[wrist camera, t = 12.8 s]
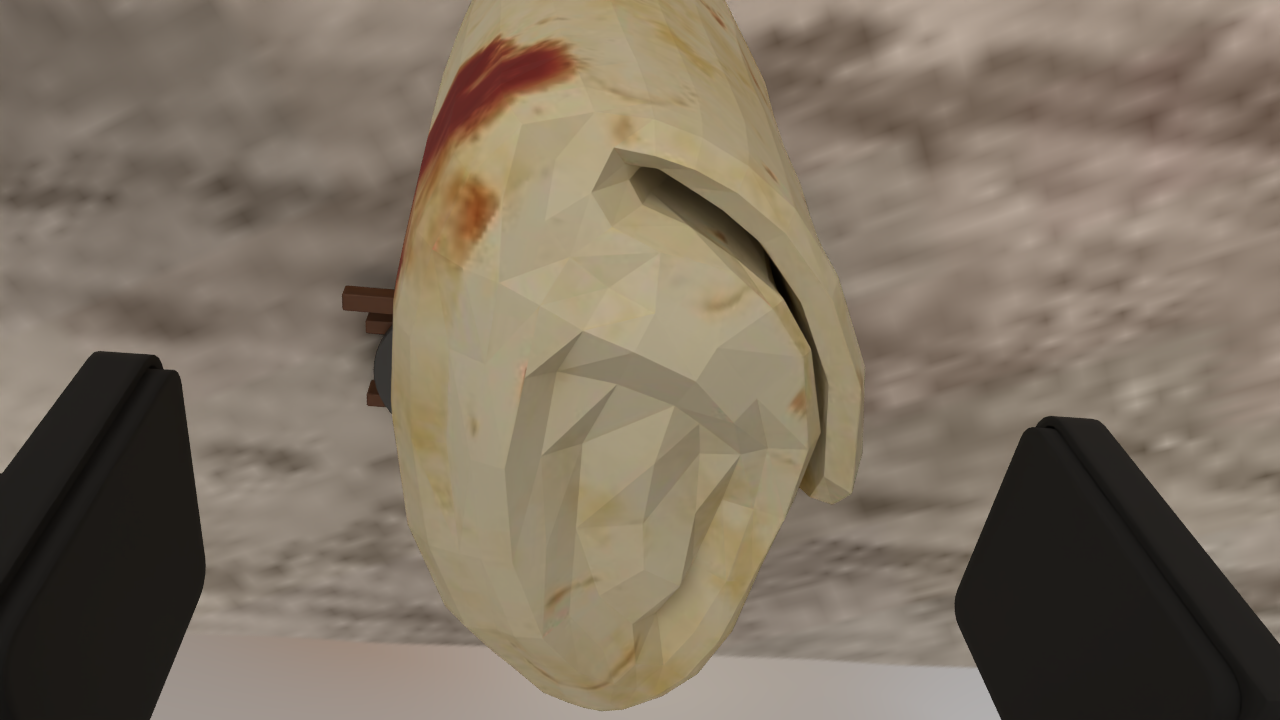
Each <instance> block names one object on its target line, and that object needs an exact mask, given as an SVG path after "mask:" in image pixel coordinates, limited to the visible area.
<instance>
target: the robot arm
mask: <svg viewBox="0 0 1280 720" xmlns="http://www.w3.org/2000/svg"><path fill="white" fill-rule="evenodd" d="M205 568H206V564H205V553H204V546H203V539H202V531H201V524H200V516H199V509H198V502H197V494H196V487H195V479H194V472H193V465H192V457H191V450H190V442H189V435H188V428H187V420H186V413H185V405H184V398H183V391H182V384H181V379H180V376H179V374H178V372H177V371H175V370H164V369H163V366H162V363H161V361H160V359H159V358H158V357H157V356H155V355H149V354H134V353H119V352H105V351H98V352H94V353H93V354H92V355H91V356H90V357H89V358H88V359H87V360H86V362H85V363H84V364H83V366H82V367H81V369H80V370H79V371H78V373H77V374H76V375H75V377H74V378H73V379H72V381H71V382H70V383H69V385H68V386H67V387H66V389H65V390H64V391H63V393H62V394H61V395H60V397H59V398H58V399H57V401H56V402H55V403H54V405H53V406H52V407H51V409H50V410H49V411H48V413H47V414H46V415H45V417H44V418H43V420H42V421H41V422H40V424H39V425H38V426H37V428H36V429H35V430H34V432H33V433H32V434H31V436H30V437H29V438H28V440H27V441H26V442H25V444H24V445H23V446H22V448H21V449H20V450H19V452H18V453H17V454H16V456H15V457H14V458H13V460H12V461H11V462H10V464H9V465H8V467H7V468H6V469H5V471H4V472H3V473H2V474H1V473H0V720H150V718H151V716H152V713H153V711H154V708H155V706H156V703H157V701H158V698H159V696H160V693H161V691H162V689H163V686H164V684H165V681H166V679H167V676H168V674H169V672H170V669H171V667H172V664H173V662H174V659H175V657H176V654H177V652H178V650H179V647H180V645H181V642H182V640H183V637H184V635H185V632H186V630H187V628H188V625H189V623H190V620H191V618H192V615H193V613H194V610H195V608H196V605H197V603H198V601H199V598H200V595H201V592H202V589H203V585H204V579H205ZM955 615H956V620H957V623H958V626H959V628H960V630H961V632H962V634H963V637H964V639H965V641H966V643H967V645H968V648H969V650H970V652H971V654H972V656H973V659H974V661H975V663H976V665H977V667H978V670H979V672H980V674H981V676H982V678H983V680H984V683H985V685H986V687H987V689H988V691H989V693H990V696H991V698H992V700H993V702H994V705H995V707H996V709H997V711H998V713H999V715H1000V717H1001V720H1280V644H1279V643H1278V641H1277V640H1276V639H1275V638H1274V636H1273V635H1272V634H1271V633H1270V631H1269V630H1268V629H1267V628H1266V626H1265V625H1264V624H1263V623H1262V621H1261V620H1260V619H1259V618H1258V616H1257V615H1256V614H1255V613H1254V611H1253V610H1252V609H1251V608H1250V606H1249V605H1248V604H1247V603H1246V601H1245V600H1244V599H1243V598H1242V597H1241V595H1240V594H1239V593H1238V592H1237V590H1236V589H1235V588H1234V587H1233V585H1232V584H1231V583H1230V582H1229V580H1228V579H1227V578H1226V577H1225V575H1224V574H1223V573H1222V572H1221V570H1220V569H1219V568H1218V567H1217V565H1216V564H1215V563H1214V562H1213V560H1212V559H1211V558H1210V557H1209V555H1208V554H1207V553H1206V552H1205V550H1204V549H1203V548H1202V547H1201V545H1200V544H1199V543H1198V542H1197V540H1196V539H1195V538H1194V537H1193V535H1192V534H1191V533H1190V532H1189V530H1188V529H1187V528H1186V527H1185V525H1184V524H1183V523H1182V522H1181V520H1180V519H1179V518H1178V517H1177V515H1176V514H1175V513H1174V512H1173V510H1172V509H1171V508H1170V507H1169V505H1168V504H1167V503H1166V502H1165V500H1164V499H1163V498H1162V497H1161V495H1160V494H1159V493H1158V492H1157V490H1156V489H1155V488H1154V487H1153V485H1152V484H1151V483H1150V482H1149V480H1148V479H1147V478H1146V477H1145V475H1144V474H1143V473H1142V472H1141V470H1140V469H1139V468H1138V467H1137V465H1136V464H1135V463H1134V462H1133V460H1132V459H1131V458H1130V457H1129V455H1128V454H1127V453H1126V452H1125V450H1124V449H1123V448H1122V447H1121V445H1120V444H1119V443H1118V442H1117V440H1116V439H1115V438H1114V437H1113V435H1112V434H1111V433H1110V432H1109V430H1108V429H1107V428H1106V427H1105V426H1104V425H1103V424H1102V423H1101V422H1100V421H1098V420H1094V419H1086V418H1071V417H1057V416H1048V417H1045V418H1043V419H1042V420H1041V421H1040V422H1039V423H1038V424H1037V426H1036V427H1032V428H1028V429H1027V430H1026V431H1025V432H1024V433H1023V435H1022V437H1021V438H1020V441H1019V443H1018V446H1017V448H1016V450H1015V453H1014V455H1013V458H1012V460H1011V462H1010V465H1009V467H1008V470H1007V472H1006V474H1005V477H1004V479H1003V482H1002V484H1001V486H1000V489H999V491H998V494H997V496H996V498H995V501H994V503H993V506H992V508H991V510H990V513H989V515H988V518H987V520H986V522H985V525H984V527H983V530H982V532H981V534H980V537H979V539H978V542H977V544H976V546H975V549H974V551H973V554H972V556H971V558H970V561H969V563H968V566H967V568H966V570H965V573H964V575H963V578H962V580H961V582H960V585H959V587H958V590H957V593H956V596H955Z"/></svg>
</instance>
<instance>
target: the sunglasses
mask: <svg viewBox="0 0 1280 720" xmlns="http://www.w3.org/2000/svg"><path fill="white" fill-rule="evenodd" d="M394 292H395V290H393V289H381V288H370V287H358V286H345V289H344V291H343V294H342V308H343V310H347V311H359V312H369V313H368V316H367V318H366V333H371V334H383V335H384V337H383V338H382V340H381V342H380V344H379V347H378V350H377V353H376V357H375V361H374V380H371V383H370V386H369V389H368V392H367V405H368V406H377V407H386V408H387V409H388V410H389V411H390V413H391V414H392V407H391V377H392V338H393V299H394Z"/></svg>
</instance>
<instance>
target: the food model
mask: <svg viewBox="0 0 1280 720" xmlns="http://www.w3.org/2000/svg"><path fill="white" fill-rule="evenodd" d="M864 387H865V366H864V362H863V359H862V356H861V352H860V349H859V345H858V342H857V339H856V335H855V332H854V328H853V325H852V322H851V318H850V315H849V312H848V308H847V305H846V301H845V298H844V295H843V291H842V288H841V284H840V281H839V278H838V276H837V274H836V272H835V270H834V268H833V267H832V265H831V263H830V261H829V259H828V257H827V256H826V254H825V252H824V250H823V248H822V246H821V244H820V242H819V240H818V238H817V235H816V232H815V229H814V226H813V223H812V220H811V218H810V214H809V211H808V208H807V205H806V201H805V198H804V195H803V192H802V188H801V185H800V182H799V180H798V178H797V175H796V173H795V171H794V168H793V166H792V164H791V162H790V159H789V157H788V155H787V152H786V150H785V148H784V145H783V142H782V139H781V136H780V134H779V131H778V128H777V125H776V122H775V119H774V116H773V112H772V108H771V104H770V100H769V96H768V92H767V88H766V84H765V82H764V80H763V77H762V75H761V73H760V71H759V69H758V67H757V65H756V63H755V61H754V59H753V57H752V55H751V53H750V51H749V49H748V46H747V44H746V42H745V40H744V38H743V36H742V34H741V32H740V30H739V28H738V26H737V24H736V22H735V20H734V18H733V16H732V14H731V12H730V10H729V8H728V6H727V4H726V2H725V0H472V2H471V4H470V6H469V8H468V10H467V13H466V15H465V17H464V19H463V22H462V24H461V27H460V29H459V32H458V34H457V37H456V40H455V42H454V45H453V48H452V51H451V54H450V57H449V59H448V62H447V65H446V68H445V70H444V73H443V77H442V81H441V84H440V88H439V92H438V96H437V99H436V104H435V108H434V112H433V117H432V121H431V125H430V130H429V134H428V138H427V143H426V147H425V151H424V156H423V160H422V164H421V169H420V173H419V177H418V182H417V186H416V191H415V195H414V199H413V204H412V208H411V212H410V217H409V221H408V226H407V230H406V235H405V239H404V243H403V248H402V253H401V258H400V263H399V268H398V273H397V278H396V285H395V292H394V299H393V338H392V377H391V407H392V418H393V426H394V433H395V440H396V446H397V453H398V460H399V467H400V474H401V481H402V488H403V495H404V502H405V508H406V515H407V522H408V526H409V528H410V530H411V532H412V535H413V537H414V539H415V541H416V543H417V545H418V548H419V550H420V552H421V554H422V556H423V559H424V561H425V563H426V565H427V567H428V570H429V572H430V574H431V576H432V578H433V581H434V583H435V585H436V587H437V589H438V591H439V594H440V596H441V598H442V600H443V602H444V605H445V606H446V607H447V608H448V609H449V610H450V611H451V612H452V613H453V614H454V615H455V616H456V617H457V618H458V619H459V620H460V621H461V623H462V624H463V625H464V626H465V627H467V628H468V629H469V630H470V631H471V632H472V633H473V634H474V635H475V636H476V637H477V638H479V639H480V640H481V641H482V642H483V643H484V644H485V645H486V646H487V647H488V648H490V649H491V650H492V651H493V652H494V653H495V654H497V655H498V656H499V657H501V658H502V659H503V660H504V661H506V662H507V663H508V664H510V665H511V666H512V667H513V668H514V669H516V670H517V671H518V672H519V673H520V674H522V675H523V676H524V677H525V678H526V679H528V680H529V681H530V682H531V683H532V684H534V685H535V686H536V687H537V688H539V689H540V690H541V691H542V692H543V693H546V694H549V695H551V696H553V697H556V698H558V699H560V700H563V701H565V702H568V703H571V704H574V705H577V706H580V707H583V708H588V709H593V710H598V711H610V710H622V709H626V708H629V707H632V706H635V705H638V704H641V703H643V702H646V701H649V700H652V699H655V698H658V697H661V696H663V695H665V694H666V693H668V692H669V691H671V690H673V689H674V688H676V687H678V686H679V685H681V684H682V683H684V682H685V681H687V680H689V679H690V678H692V677H693V676H695V675H696V674H698V673H699V671H700V670H701V669H702V668H703V666H704V665H705V664H706V663H707V661H708V660H709V659H710V658H711V657H712V655H713V654H714V653H715V652H716V650H717V649H718V648H719V647H720V645H721V644H722V643H723V642H724V640H725V639H726V638H727V637H728V636H729V634H730V633H731V632H732V630H733V628H734V626H735V623H736V621H737V619H738V617H739V614H740V612H741V610H742V608H743V605H744V603H745V601H746V599H747V596H748V594H749V592H750V590H751V587H752V585H753V583H754V581H755V579H756V576H757V574H758V572H759V570H760V567H761V565H762V563H763V561H764V559H765V557H766V555H767V553H768V551H769V549H770V547H771V545H772V543H773V541H774V539H775V537H776V535H777V533H778V531H779V529H780V527H781V525H782V523H783V521H784V519H785V517H786V515H787V513H788V511H789V509H790V507H791V505H792V503H793V501H794V498H795V496H796V493H797V491H798V488H800V489H801V490H803V491H804V492H805V493H806V494H807V495H808V496H809V497H811V498H814V499H817V500H820V501H823V502H826V503H829V504H832V505H833V504H835V503H837V502H838V501H840V500H842V499H844V498H845V497H847V496H849V495H851V494H852V491H853V487H854V483H855V479H856V476H857V472H858V468H859V464H860V460H861V456H862V448H863V418H864Z"/></svg>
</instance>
